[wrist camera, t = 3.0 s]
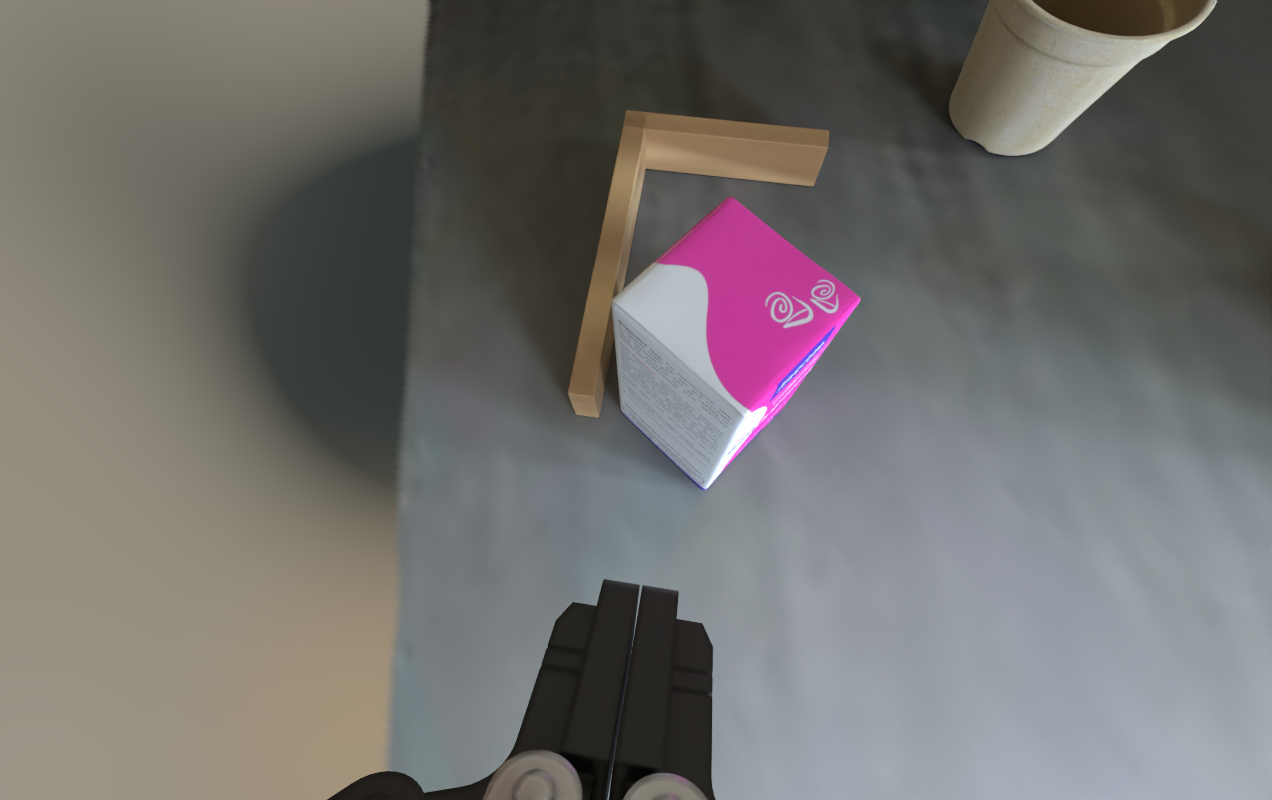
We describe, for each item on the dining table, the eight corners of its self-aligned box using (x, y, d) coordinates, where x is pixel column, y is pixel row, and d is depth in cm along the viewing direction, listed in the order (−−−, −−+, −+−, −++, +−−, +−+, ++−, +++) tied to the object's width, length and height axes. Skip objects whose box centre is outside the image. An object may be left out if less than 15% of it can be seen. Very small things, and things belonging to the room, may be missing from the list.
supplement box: (706, 497, 28) (741, 422, 17) (618, 412, 29) (597, 294, 18) (787, 412, 29) (868, 293, 18) (698, 336, 30) (723, 184, 20)
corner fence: (628, 150, 35) (626, 109, 32) (814, 170, 34) (829, 129, 31) (575, 415, 29) (567, 393, 26) (796, 446, 28) (811, 427, 25)
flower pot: (1012, 36, 37) (1114, -127, 29) (1121, 140, 34) (1269, -9, 26) (888, 92, 36) (957, -62, 27) (989, 206, 33) (1101, 70, 25)
